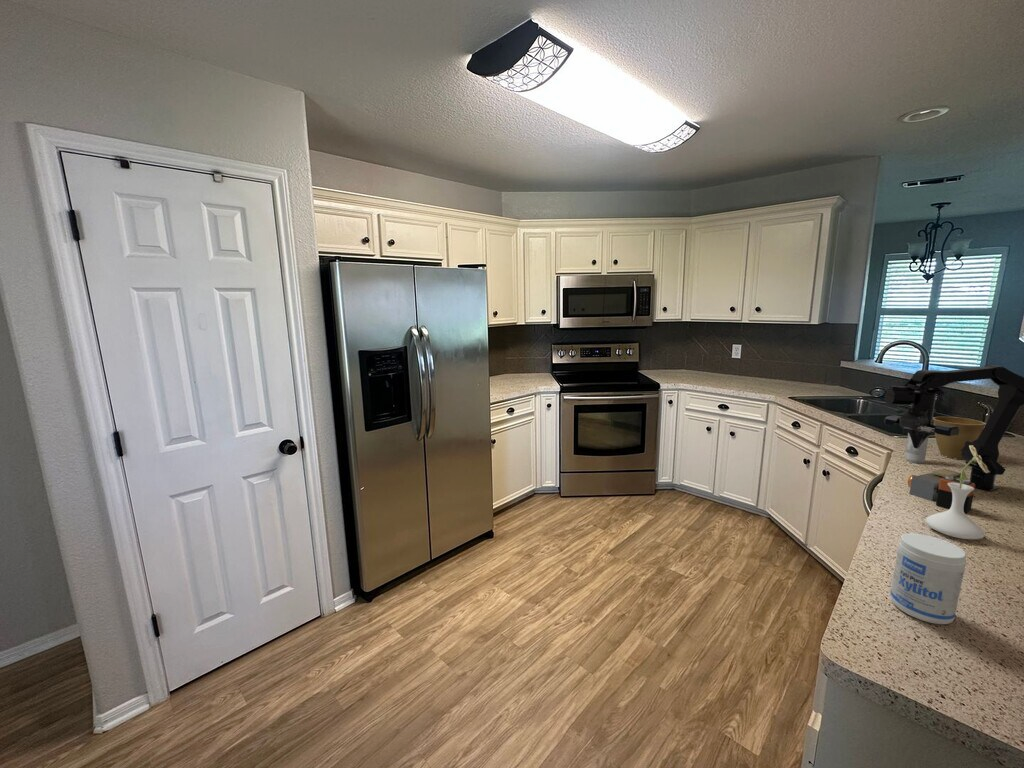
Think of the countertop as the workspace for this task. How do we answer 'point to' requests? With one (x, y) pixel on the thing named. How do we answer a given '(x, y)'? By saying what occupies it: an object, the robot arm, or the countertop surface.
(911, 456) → the energy drink can
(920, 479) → the drawbar block
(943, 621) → the supplement tub
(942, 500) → the battery
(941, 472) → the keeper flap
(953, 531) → the flower in vase
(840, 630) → the countertop surface
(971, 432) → the plant pot
